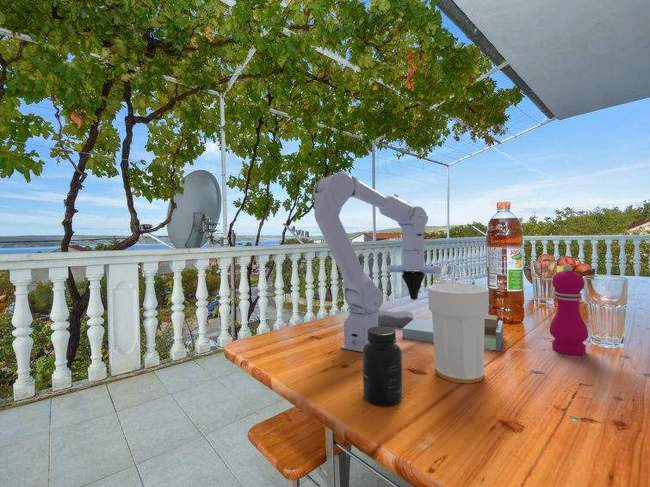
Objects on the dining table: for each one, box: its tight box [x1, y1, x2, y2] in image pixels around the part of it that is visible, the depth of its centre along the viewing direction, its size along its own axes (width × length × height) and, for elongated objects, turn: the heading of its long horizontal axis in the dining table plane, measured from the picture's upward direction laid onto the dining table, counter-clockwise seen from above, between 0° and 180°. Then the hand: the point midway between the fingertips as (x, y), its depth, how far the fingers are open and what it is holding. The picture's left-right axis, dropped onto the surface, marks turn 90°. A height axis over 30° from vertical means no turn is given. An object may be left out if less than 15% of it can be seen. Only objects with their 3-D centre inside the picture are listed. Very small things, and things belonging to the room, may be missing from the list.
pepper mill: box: [549, 264, 589, 356], centre depth 75 cm, size 7×7×20 cm
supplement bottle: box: [361, 326, 403, 407], centre depth 57 cm, size 7×7×12 cm
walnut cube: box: [484, 314, 499, 336], centre depth 83 cm, size 4×4×4 cm
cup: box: [427, 282, 490, 384], centre depth 65 cm, size 11×11×17 cm
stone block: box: [378, 310, 415, 328], centre depth 103 cm, size 12×5×10 cm
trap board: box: [401, 318, 504, 352], centre depth 87 cm, size 24×11×4 cm, turn 59°
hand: (414, 298), depth 91 cm, fingers closed
